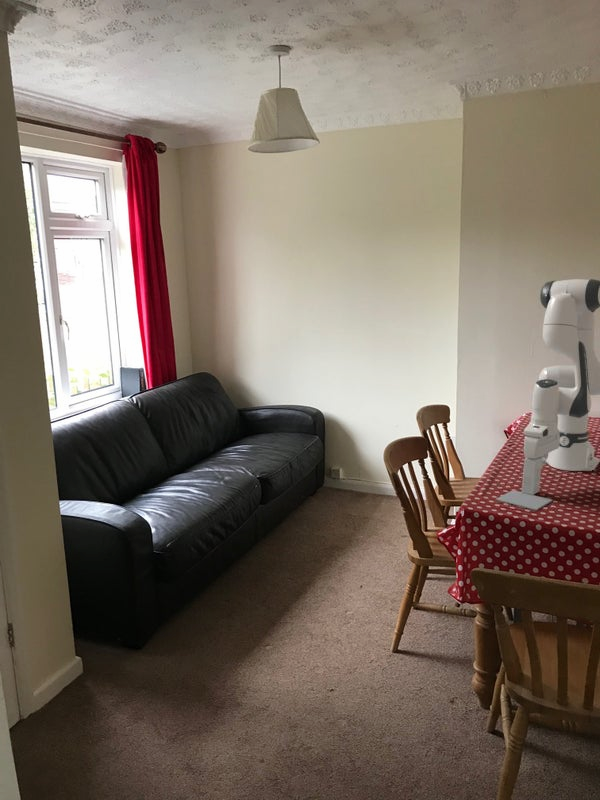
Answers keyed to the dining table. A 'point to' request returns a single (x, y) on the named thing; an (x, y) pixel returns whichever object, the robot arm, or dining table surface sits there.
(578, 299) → the robot arm
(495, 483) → the dining table surface
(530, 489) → the skincare box
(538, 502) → the mat
